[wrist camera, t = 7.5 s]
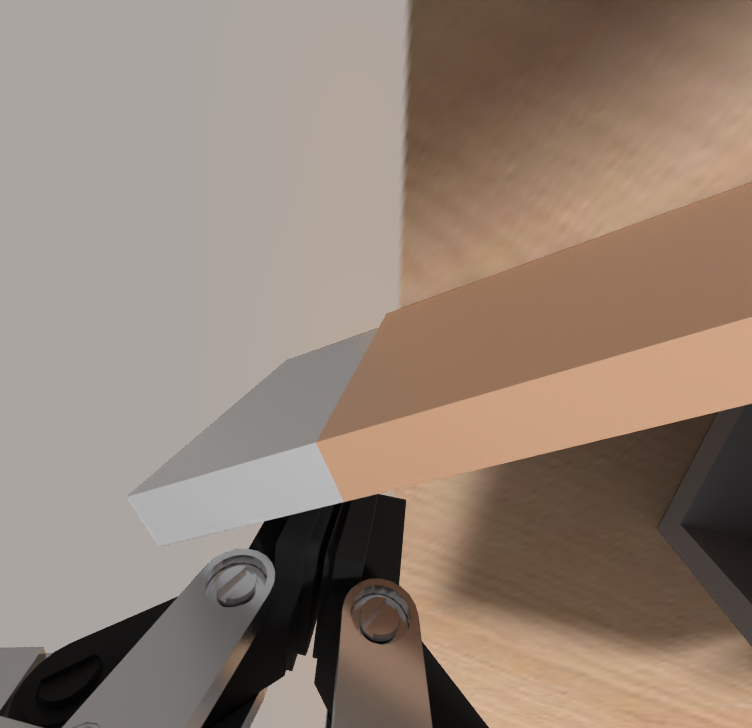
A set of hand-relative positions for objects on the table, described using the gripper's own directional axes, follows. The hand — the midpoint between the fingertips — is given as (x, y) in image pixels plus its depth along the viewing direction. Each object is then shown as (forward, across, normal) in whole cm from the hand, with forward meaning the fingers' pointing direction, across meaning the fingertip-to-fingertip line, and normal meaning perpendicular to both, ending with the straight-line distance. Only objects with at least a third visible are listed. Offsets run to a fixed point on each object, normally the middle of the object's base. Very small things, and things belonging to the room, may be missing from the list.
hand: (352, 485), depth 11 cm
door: (+8, -6, -6) cm, 11 cm away
